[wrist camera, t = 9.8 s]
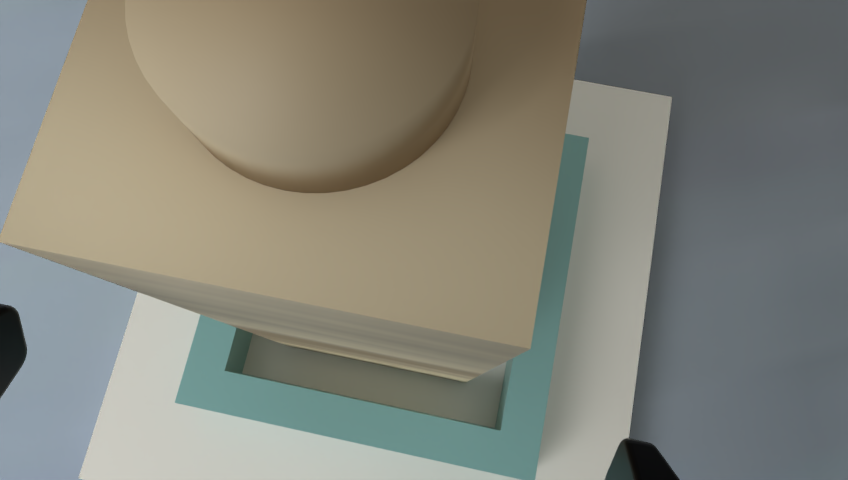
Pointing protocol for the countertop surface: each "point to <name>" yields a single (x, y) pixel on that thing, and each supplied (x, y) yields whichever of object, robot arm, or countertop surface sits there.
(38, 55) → the countertop surface
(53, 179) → the beige tall block
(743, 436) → the countertop surface
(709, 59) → the countertop surface
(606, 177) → the baseplate
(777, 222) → the countertop surface
